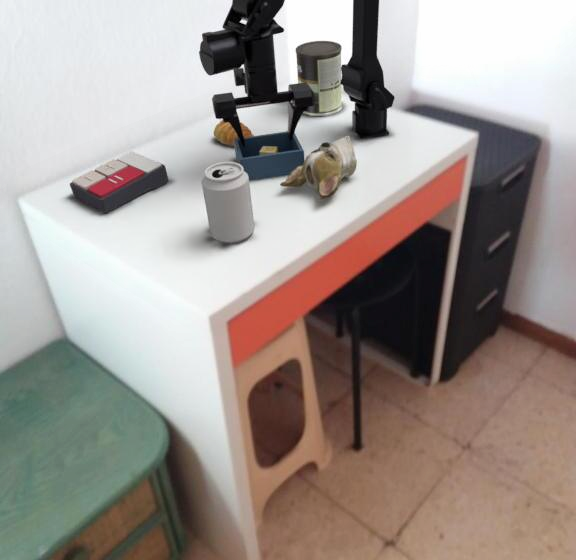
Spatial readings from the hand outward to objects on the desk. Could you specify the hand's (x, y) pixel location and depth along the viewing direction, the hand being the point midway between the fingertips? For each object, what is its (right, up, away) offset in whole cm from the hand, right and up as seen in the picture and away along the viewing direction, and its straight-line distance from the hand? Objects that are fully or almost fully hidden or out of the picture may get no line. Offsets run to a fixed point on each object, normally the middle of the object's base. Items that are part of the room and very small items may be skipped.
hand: (267, 142), depth 118 cm
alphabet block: (0, -4, +3) cm, 5 cm away
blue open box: (0, -4, +3) cm, 5 cm away
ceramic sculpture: (+11, -9, -5) cm, 15 cm away
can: (-5, -19, -16) cm, 26 cm away
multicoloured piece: (-28, -9, -1) cm, 30 cm away
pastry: (-8, +4, +14) cm, 17 cm away
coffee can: (+12, +14, +26) cm, 31 cm away
